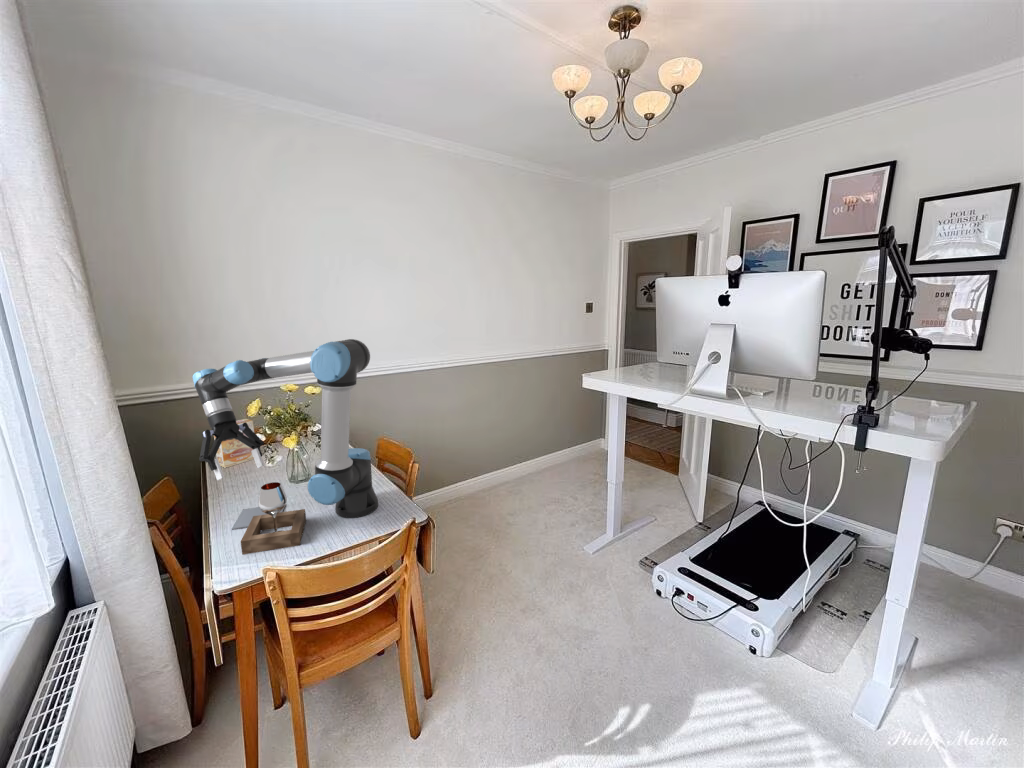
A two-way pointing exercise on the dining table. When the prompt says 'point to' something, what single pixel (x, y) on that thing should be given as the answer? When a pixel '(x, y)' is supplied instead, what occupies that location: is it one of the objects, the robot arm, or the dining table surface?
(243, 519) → the mat
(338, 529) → the dining table surface
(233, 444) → the coffeecake box
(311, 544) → the dining table surface
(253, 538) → the frame
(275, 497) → the wineglass
